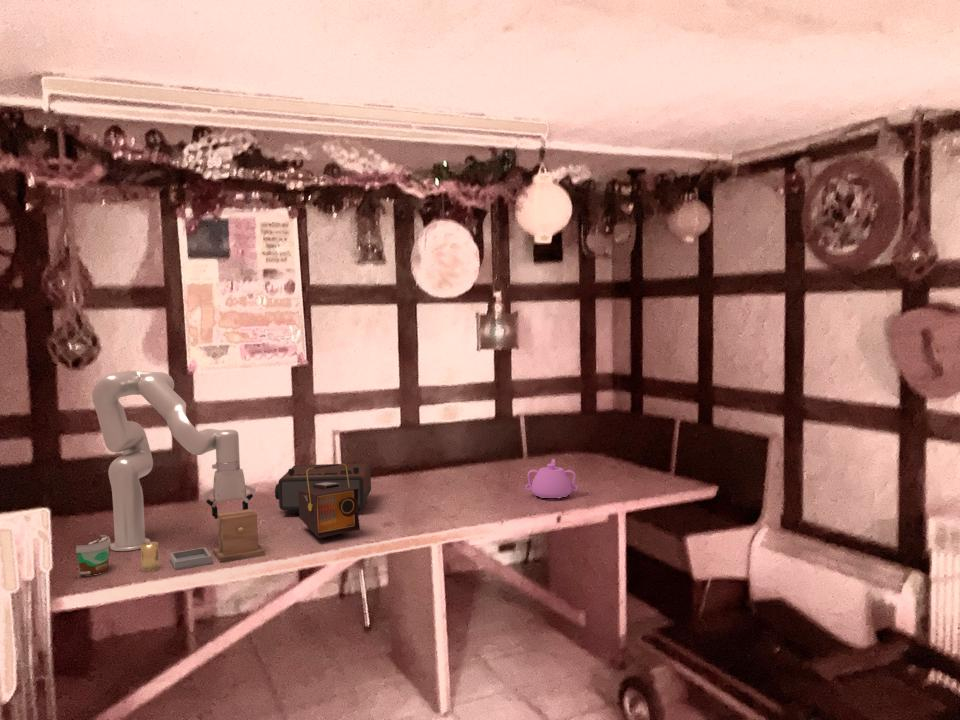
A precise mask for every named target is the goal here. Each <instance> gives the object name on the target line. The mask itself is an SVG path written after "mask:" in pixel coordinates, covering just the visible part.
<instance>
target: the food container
mask: <svg viewBox="0 0 960 720" xmlns="http://www.w3.org/2000/svg"><path fill="white" fill-rule="evenodd" d="M111 544H112V541H111V538H110V537H109V536H108V535H106V534H101V535H100V537H99V538H97V539H94V540H91V541H88V542H87V543H85V544H83V545H77V544H76V547H75V553H76V554H77V560H78V567H79V575H80V577H81V576H86V575H94V574H99V573H102V574H104V573H106V572H108V571H109V555H110V554H109V553H110V545H111ZM107 570H108V571H107ZM105 571H106V572H105ZM103 572H104V573H103ZM99 575H100V574H99Z"/></svg>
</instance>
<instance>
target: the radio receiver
mask: <svg viewBox="0 0 960 720" xmlns="http://www.w3.org/2000/svg"><path fill="white" fill-rule="evenodd" d="M333 464H334V463H331V464H330V463H329V464H328V463H325V464H323V463H322V464H295V465H293V466H292V467H291V468H288V471H287V472H285V474H284V475H283V476H281V477H280V478H279V480H278V482H277V484H275V489H274V497H275V499H276V500H278V506H279V509H280V510H281V511H287V512H288V513H292V514H295V513H297V514H299V494H298V490H303V489H308V483H307V475H306V472H307V470H308V469H309V470H308V472H307V474H308V482H309V488H313V484H317V483H323V482H331V483H340V487H347V488H348V480H349V487H350V488H359V492H358V509H357V510H358V511H360V509H361V508H363V507H364V506H365V503H366V502H367V500H368V496H369V495H370V493H371V491H372V477H371V475H372V473H371V470H372V469H371V465H370V463H367V462H365V463H364V462H363V463H339V464H340V465H336V466H329V467H323V468H316V469H314V467H320V466H327V465H333ZM343 464H345V465H346V466H347V472H348V480H347V473H346V467H345V465H343ZM310 468H313V469H310Z"/></svg>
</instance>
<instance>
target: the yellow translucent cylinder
mask: <svg viewBox="0 0 960 720" xmlns="http://www.w3.org/2000/svg"><path fill="white" fill-rule="evenodd" d="M159 555H160V553H159V542H158V541H150V542H146V543H143V544H141V549H140V557H141V558H140V561H141V571H142V570H143V571H151V572H153V571H152V570H155V571H158V570H159V569H160V557H159ZM157 569H158V570H157ZM143 571H142V572H143Z"/></svg>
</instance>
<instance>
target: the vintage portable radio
mask: <svg viewBox="0 0 960 720" xmlns="http://www.w3.org/2000/svg"><path fill="white" fill-rule="evenodd" d="M332 464H333V465H327V466H320V467H314V469H316V468H323V467H329V466H336V465H340V464H341V463H332ZM342 464H343V465H345V464H346V463H342ZM345 467H346V473H347V480H348V472H347V466H346V465H345ZM310 469H313V468H310ZM308 470H309V469H308ZM308 470H307V472H308ZM307 472H306V475H307V483H308V489H303V490H298V494H299V513H298V515H299V519H300V520H301V521H302V523H304V524H305V525H306V527H308V529H309V530H310V531H311V532H312V533H313V534H314V535H315V537H316V538H318V539H322V538H324V539H325V538H326V537H330V536H335V535H339V534H345V533H350V532H355V531H360V530H361V526H360V519H359V510H357V509H358V492H359V488H350V487H349V480H348V488H347V487H340V483H331V482H323V483H317V484H313V488H309V482H308V474H307Z"/></svg>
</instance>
